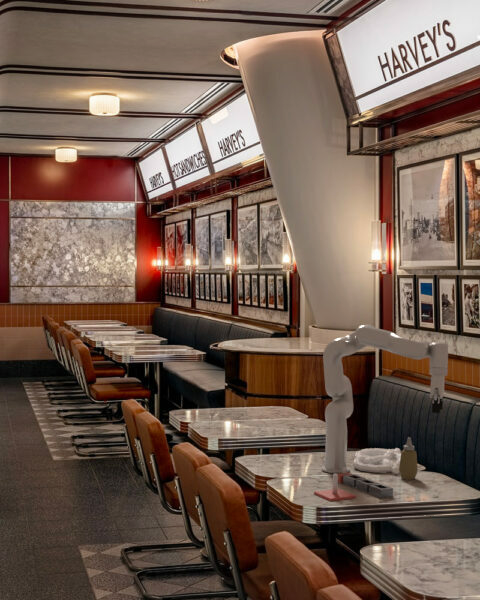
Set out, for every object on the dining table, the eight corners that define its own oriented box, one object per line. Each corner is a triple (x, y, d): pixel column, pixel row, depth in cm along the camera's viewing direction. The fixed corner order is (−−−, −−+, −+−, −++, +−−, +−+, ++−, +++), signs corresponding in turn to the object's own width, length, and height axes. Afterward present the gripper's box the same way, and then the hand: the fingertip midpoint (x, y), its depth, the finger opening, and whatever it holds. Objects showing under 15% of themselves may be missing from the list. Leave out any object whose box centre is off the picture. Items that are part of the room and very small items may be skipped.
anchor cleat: (334, 480, 377) (335, 467, 376) (348, 479, 380) (348, 465, 380) (340, 483, 373) (340, 468, 373) (353, 481, 376) (354, 467, 376)
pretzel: (405, 479, 390) (405, 465, 389) (351, 477, 395) (351, 463, 394) (406, 458, 417) (406, 445, 416) (356, 456, 422) (356, 443, 421)
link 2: (355, 488, 364) (355, 480, 364) (367, 487, 367) (367, 478, 367) (367, 493, 357) (367, 484, 357) (379, 491, 360) (379, 483, 360)
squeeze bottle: (416, 477, 388) (417, 436, 387) (418, 481, 380) (419, 439, 379) (397, 476, 389) (399, 435, 388) (399, 480, 381) (400, 438, 380)
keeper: (313, 494, 353) (314, 471, 353) (338, 491, 359) (339, 469, 359) (330, 501, 343) (331, 478, 342) (356, 498, 348) (356, 475, 348)
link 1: (343, 483, 372) (343, 475, 372) (354, 482, 375) (355, 474, 375) (354, 488, 365) (354, 479, 365) (366, 486, 368) (366, 478, 368)
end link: (368, 493, 356) (368, 485, 356) (380, 492, 359) (380, 483, 359) (380, 498, 349) (380, 489, 349) (392, 496, 352) (393, 488, 352)
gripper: (432, 368, 387) (430, 407, 387) (426, 372, 370) (425, 413, 371) (449, 369, 384) (448, 409, 385) (445, 373, 368) (443, 414, 368)
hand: (437, 411), depth 378 cm, fingers open, 9 cm apart
